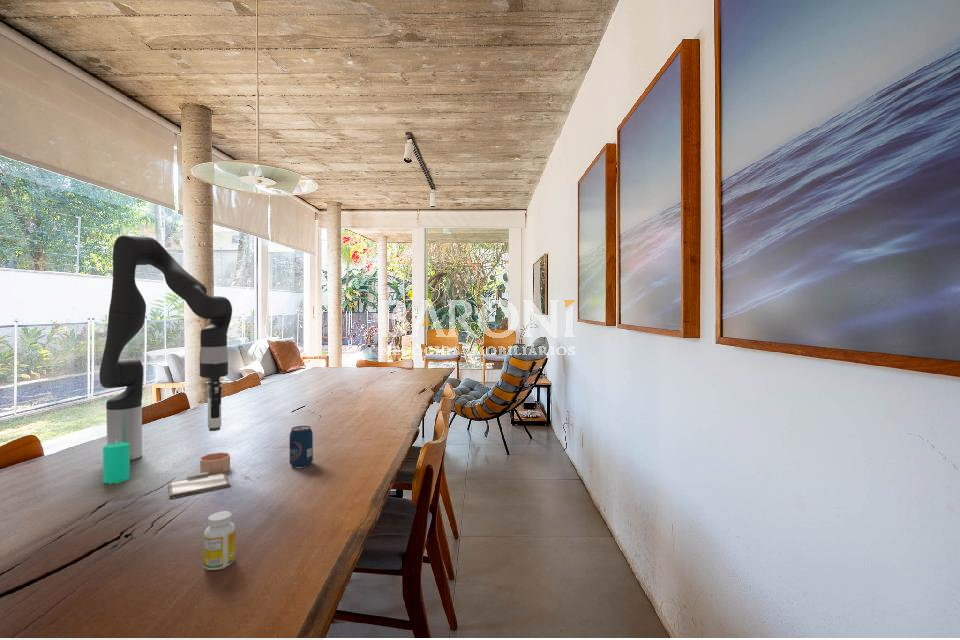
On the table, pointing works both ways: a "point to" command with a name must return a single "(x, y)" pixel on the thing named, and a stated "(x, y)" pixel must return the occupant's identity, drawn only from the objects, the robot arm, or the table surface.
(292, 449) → the soda can
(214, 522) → the supplement bottle
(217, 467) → the pen cup
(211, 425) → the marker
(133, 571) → the table surface
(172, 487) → the clipboard
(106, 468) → the candle
